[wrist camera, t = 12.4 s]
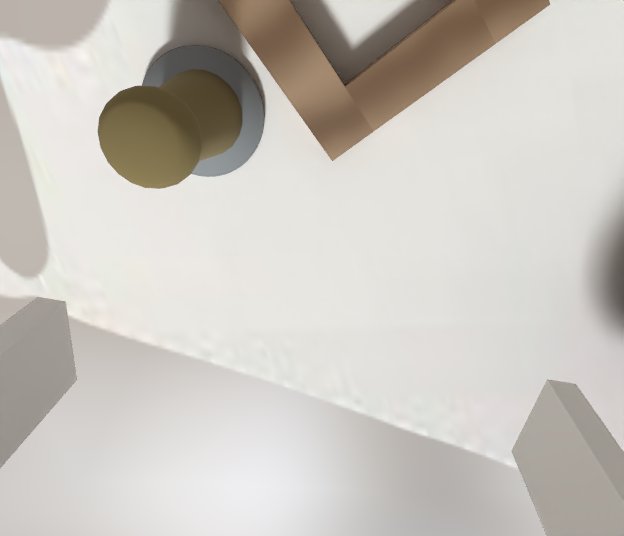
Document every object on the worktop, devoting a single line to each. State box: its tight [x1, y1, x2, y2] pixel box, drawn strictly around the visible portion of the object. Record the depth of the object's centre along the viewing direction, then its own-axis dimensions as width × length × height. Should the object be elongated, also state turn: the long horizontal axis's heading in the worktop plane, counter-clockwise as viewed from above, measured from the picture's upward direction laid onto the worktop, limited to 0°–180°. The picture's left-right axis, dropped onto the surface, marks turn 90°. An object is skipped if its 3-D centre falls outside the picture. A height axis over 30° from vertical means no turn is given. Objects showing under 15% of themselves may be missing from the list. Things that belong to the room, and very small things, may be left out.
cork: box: [98, 69, 243, 188], centre depth 26 cm, size 6×6×11 cm
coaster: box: [142, 45, 264, 177], centre depth 31 cm, size 9×9×1 cm
